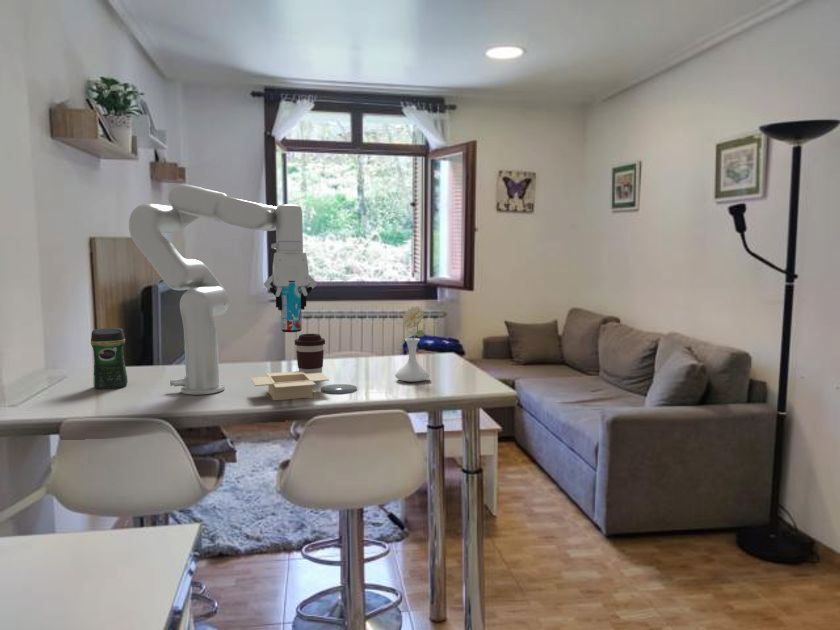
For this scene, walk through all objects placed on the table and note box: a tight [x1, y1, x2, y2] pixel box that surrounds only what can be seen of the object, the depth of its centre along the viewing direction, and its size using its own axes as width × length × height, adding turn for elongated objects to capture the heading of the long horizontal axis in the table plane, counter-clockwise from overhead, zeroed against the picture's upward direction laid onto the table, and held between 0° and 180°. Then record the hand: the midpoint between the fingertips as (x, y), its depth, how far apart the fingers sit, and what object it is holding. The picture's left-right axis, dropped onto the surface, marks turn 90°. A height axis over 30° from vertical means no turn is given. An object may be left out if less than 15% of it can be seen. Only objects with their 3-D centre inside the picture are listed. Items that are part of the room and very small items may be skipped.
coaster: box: [320, 383, 358, 395], centre depth 188 cm, size 11×11×1 cm
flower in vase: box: [394, 305, 430, 383], centre depth 200 cm, size 13×11×25 cm
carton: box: [250, 370, 330, 401], centre depth 182 cm, size 21×21×5 cm
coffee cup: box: [294, 333, 326, 374], centre depth 203 cm, size 10×10×15 cm
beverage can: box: [280, 281, 303, 333], centre depth 180 cm, size 6×6×15 cm
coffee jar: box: [90, 327, 128, 390], centre depth 193 cm, size 10×8×19 cm
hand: (291, 309), depth 180 cm, fingers closed on beverage can, 5 cm apart
